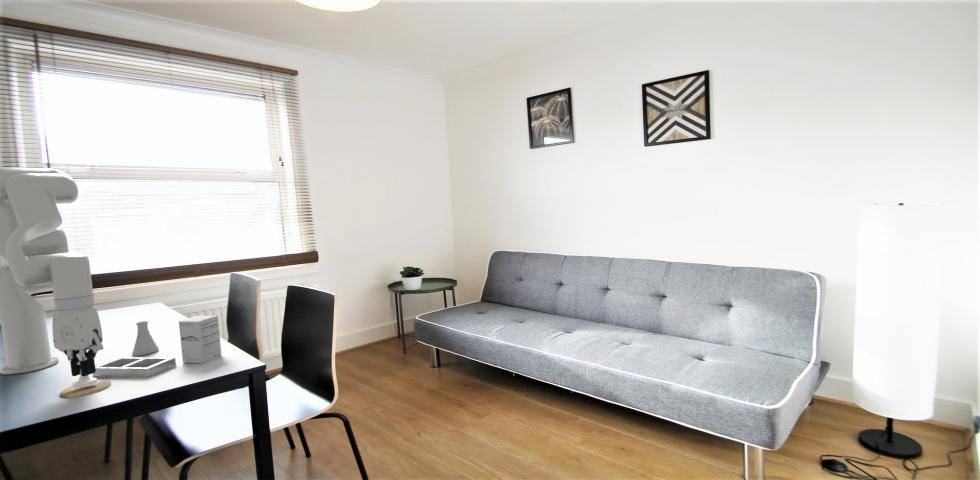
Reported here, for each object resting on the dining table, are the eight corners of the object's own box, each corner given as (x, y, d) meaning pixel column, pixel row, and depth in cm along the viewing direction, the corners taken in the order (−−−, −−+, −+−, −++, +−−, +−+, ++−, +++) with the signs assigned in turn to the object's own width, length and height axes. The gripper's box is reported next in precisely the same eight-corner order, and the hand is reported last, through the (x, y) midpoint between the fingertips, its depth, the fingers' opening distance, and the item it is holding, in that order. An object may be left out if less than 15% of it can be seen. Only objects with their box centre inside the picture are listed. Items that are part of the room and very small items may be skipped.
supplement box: (181, 363, 139) (177, 321, 138) (202, 354, 146) (198, 314, 145) (202, 364, 137) (198, 321, 136) (222, 355, 144) (218, 314, 143)
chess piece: (82, 388, 118) (77, 349, 117) (67, 387, 119) (62, 348, 118) (102, 380, 123) (97, 343, 122) (87, 380, 124) (82, 342, 123)
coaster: (49, 397, 117) (48, 395, 117) (89, 381, 127) (89, 379, 127) (82, 398, 116) (82, 396, 115) (121, 382, 125) (120, 380, 125)
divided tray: (92, 376, 131) (91, 368, 131) (123, 365, 140) (122, 357, 140) (148, 377, 128) (147, 368, 128) (176, 365, 137) (175, 357, 137)
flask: (155, 347, 157) (151, 318, 156) (162, 351, 152) (159, 321, 151) (128, 354, 151) (125, 323, 150) (135, 357, 147) (131, 326, 146)
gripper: (32, 307, 117) (42, 379, 119) (86, 306, 114) (95, 380, 116) (64, 300, 124) (73, 368, 126) (115, 299, 122) (124, 369, 123)
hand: (84, 373), depth 121 cm, fingers closed on chess piece
